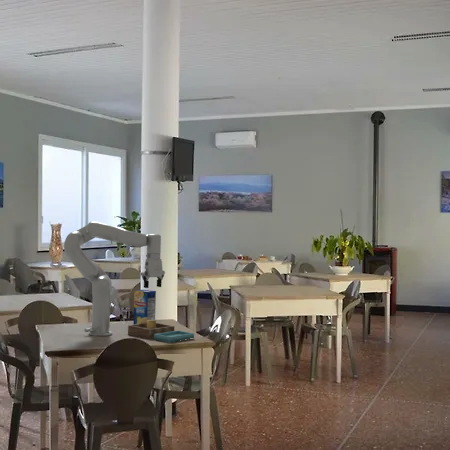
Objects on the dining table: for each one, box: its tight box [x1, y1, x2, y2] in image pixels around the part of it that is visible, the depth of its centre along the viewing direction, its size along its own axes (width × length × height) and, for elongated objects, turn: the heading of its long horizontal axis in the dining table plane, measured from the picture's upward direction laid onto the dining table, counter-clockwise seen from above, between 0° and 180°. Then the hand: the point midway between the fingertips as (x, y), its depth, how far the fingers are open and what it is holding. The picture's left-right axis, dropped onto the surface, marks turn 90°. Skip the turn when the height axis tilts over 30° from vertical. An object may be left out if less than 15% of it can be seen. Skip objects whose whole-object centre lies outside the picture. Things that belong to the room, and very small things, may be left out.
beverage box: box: [132, 289, 157, 325], centre depth 373 cm, size 7×11×22 cm, turn 53°
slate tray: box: [153, 330, 195, 343], centre depth 340 cm, size 18×12×3 cm, turn 139°
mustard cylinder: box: [147, 319, 157, 329], centre depth 351 cm, size 5×5×8 cm
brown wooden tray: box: [127, 322, 175, 340], centre depth 351 cm, size 18×18×5 cm
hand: (152, 287), depth 351 cm, fingers open, 9 cm apart
